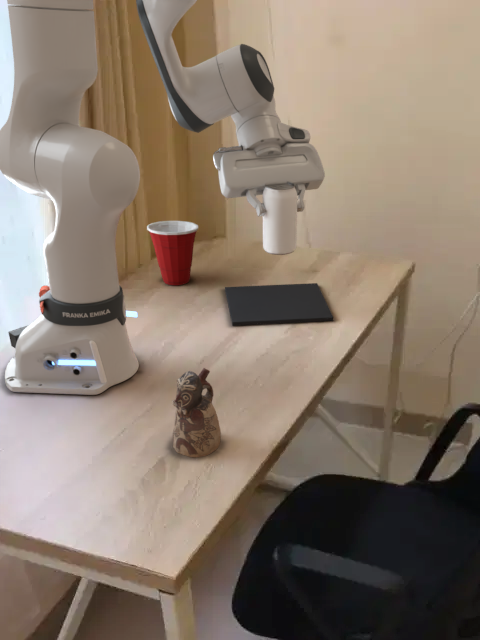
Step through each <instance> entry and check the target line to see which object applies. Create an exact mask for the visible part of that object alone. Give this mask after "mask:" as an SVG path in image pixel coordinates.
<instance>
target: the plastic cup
mask: <svg viewBox="0 0 480 640" xmlns="http://www.w3.org/2000/svg"><path fill="white" fill-rule="evenodd" d="M198 230H199V225H198V224H196V223H195V222H191V221H184V220H161V221H156V222H151V223H150V224H148V225H147V226H146V231H148V233H149V236H150V238H151V242H152V245H153V248H154V252H155V257H156V260H157V264H158V267H159V271H160V276H161V279H162V280H163V283H164V284H165V285H170V286H183V285H185V284H188V283H189V282H190V279H191V271H192V266H193V256H194V255H193V254H194V245H195V238H196V235H197V231H198Z"/></svg>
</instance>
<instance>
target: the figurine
mask: <svg viewBox="0 0 480 640" xmlns="http://www.w3.org/2000/svg"><path fill="white" fill-rule="evenodd" d="M210 372H211V371H210V369H207V368H206V367H203V368H202V370H201V371H200V372H199V374H197V373H195V372H194V371H191V370H187V371H186V372H184V373H183V374H182V375H181V376H180V377H179V378H178V379H177V380H176V396H175V399H173V400H172V401H171V404H172V405H173V406H174V407H175V408H176V410H175V419H174V427H173V431H172V447H173V449H174V450H175V452H176V453H177V454H180V455H183V456H185V457H191V458H201V457H205V456H209V455H210V454H212V453H214V452H215V451H216V450H217V449H218V448H219V447H220V445H221V437H222V432H221V426H220V423H219V422H220V421H219V417H218V414H217V411H216V409H215V406H214V404H213V398H214V389H213V386H212V385H211V383H210V382H209V381H208V380H207V378H208V376H209V374H210ZM205 389H206V393H205V394H204V395H203V392H204V390H205Z"/></svg>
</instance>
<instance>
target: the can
mask: <svg viewBox="0 0 480 640" xmlns="http://www.w3.org/2000/svg"><path fill="white" fill-rule="evenodd" d="M297 199H298V196H297V192H296V190H295V184H294V183H292V182H288V181H287V184H276V185H268V186H266V184H265V189H264V191H263V195H262V203H264V206H265V208H266V211H267V212H266V214H265V215H264V216H262V249H263V250H264V251H265V253H267V254H270V255H274V256H287V255H290V254H292V253H294V252H295V251H296V249H297V240H298V239H297V238H298V237H297V236H298V235H297V234H298V212H297Z"/></svg>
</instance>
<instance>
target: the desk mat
mask: <svg viewBox="0 0 480 640" xmlns="http://www.w3.org/2000/svg"><path fill="white" fill-rule="evenodd" d="M224 293H225V297H226V301H227V307H228V312H229V317H230V321H231V325H232V326H234V327H235V326H236V327H237V326H254V325H255V326H258V325H276V324H277V325H279V324H297V323H298V324H299V323H321V322H333V321H334V316H333V313H332V311H331V309H330V307H329V305H328V303H327V301H326V299H325V297H324V295H323V293H322V290H321V288H320V286H319V284H318V283H317V282H313V283H309V282H308V283H286V284H270V285H269V284H267V285H266V284H265V285H263V284H262V285H243V286H242V285H241V286H224Z"/></svg>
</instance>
